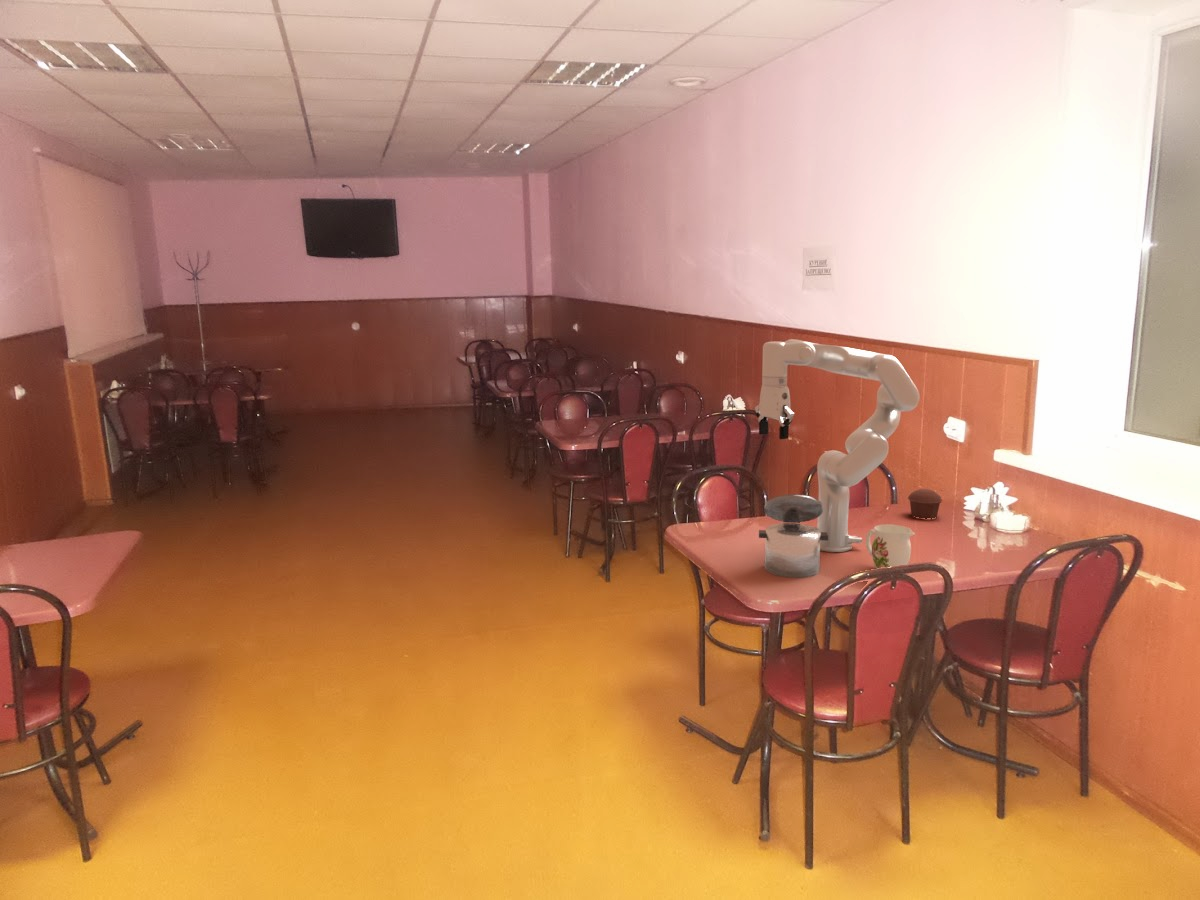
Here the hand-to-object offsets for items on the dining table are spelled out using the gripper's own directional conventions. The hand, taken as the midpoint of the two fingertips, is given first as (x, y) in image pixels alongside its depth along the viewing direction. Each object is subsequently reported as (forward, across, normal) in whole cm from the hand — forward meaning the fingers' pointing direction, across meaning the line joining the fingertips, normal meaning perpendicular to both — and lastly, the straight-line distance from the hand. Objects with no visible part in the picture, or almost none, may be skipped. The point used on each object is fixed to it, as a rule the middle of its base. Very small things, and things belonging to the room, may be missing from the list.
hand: (773, 436), depth 269 cm
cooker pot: (+37, -17, +6) cm, 41 cm away
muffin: (+38, +4, -74) cm, 84 cm away
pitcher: (+38, -33, -17) cm, 53 cm away
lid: (+20, -16, +5) cm, 26 cm away
